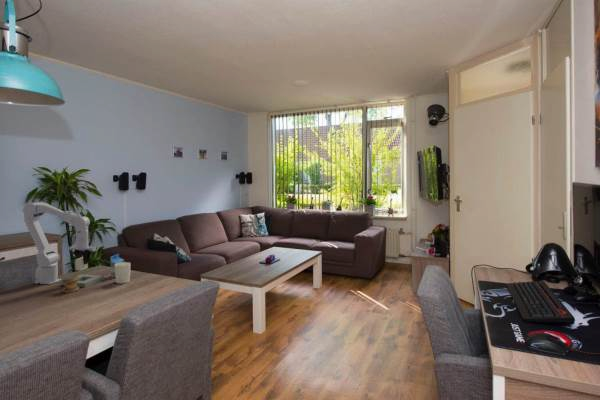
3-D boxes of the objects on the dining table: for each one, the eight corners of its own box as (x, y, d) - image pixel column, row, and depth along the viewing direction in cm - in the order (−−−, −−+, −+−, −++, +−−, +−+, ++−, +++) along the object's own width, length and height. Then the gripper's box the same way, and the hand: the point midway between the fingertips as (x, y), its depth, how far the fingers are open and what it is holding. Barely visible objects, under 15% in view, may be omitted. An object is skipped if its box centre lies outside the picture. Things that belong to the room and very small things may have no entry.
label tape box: (117, 277, 198) (117, 256, 197) (110, 277, 198) (110, 256, 197) (125, 273, 206) (125, 253, 205) (118, 273, 206) (118, 253, 206)
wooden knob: (59, 292, 172) (58, 280, 172) (70, 287, 179) (70, 276, 179) (71, 293, 171) (71, 281, 171) (82, 288, 178) (82, 277, 178)
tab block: (75, 270, 185) (75, 259, 184) (82, 267, 190) (82, 257, 189) (80, 270, 184) (80, 259, 184) (87, 268, 189) (87, 257, 189)
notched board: (61, 285, 182) (61, 281, 182) (81, 277, 196) (81, 274, 196) (85, 287, 181) (85, 283, 180) (104, 279, 194) (103, 275, 194)
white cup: (126, 284, 187) (125, 266, 186) (111, 283, 187) (111, 265, 186) (133, 279, 195) (133, 262, 194) (119, 279, 195) (119, 262, 194)
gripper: (64, 239, 184) (65, 264, 185) (88, 240, 182) (89, 266, 183) (74, 237, 191) (75, 261, 192) (98, 238, 189) (99, 262, 190)
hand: (82, 263), depth 188 cm, fingers closed on tab block, 3 cm apart
